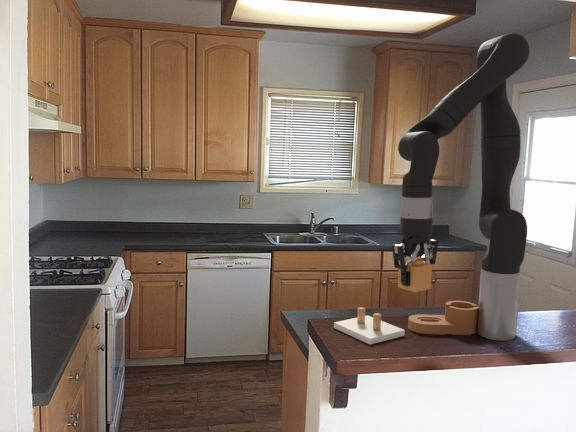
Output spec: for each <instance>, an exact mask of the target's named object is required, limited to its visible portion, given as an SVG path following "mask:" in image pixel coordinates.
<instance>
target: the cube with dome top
mask: <svg viewBox="0 0 576 432" xmlns="http://www.w3.org/2000/svg"><path fill="white" fill-rule="evenodd" d="M407 263H408V261H407V262H406V264H405V266H407ZM399 264H400V262H399ZM432 269H433V264H427V263H424V260H423V259H418V258H416V259H415V262H414V263H412V266H411V269H410V286H408V287H407V286H403V285H402V283H401V270H400V269H397V270H398V272H397V275H398V276H397V277H398V278H397V288H399V289H402V290H406V291H409V292H413V293H418V292H422V291H423V292H424V291H427V290H432V277H433V276H432V275H433V274H432V273H433V271H432Z"/></svg>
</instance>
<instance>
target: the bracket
mask: <svg viewBox="0 0 576 432" xmlns="http://www.w3.org/2000/svg"><path fill="white" fill-rule="evenodd" d="M444 308H445V310H444V314H412V315H409V316H408V319H407V320H408V322H407V323H408V324H407V328H408V330H410V331H412V332H413V333H417V334H422V335H445V334H452V335H451V336H454V335H456V336H457V335H458V336H470V335H471V334H473V335H475V334H478V333H477V321H478V305H477V304H476V303H473V302H470V301H464V300H450V301H447V302H445V307H444Z"/></svg>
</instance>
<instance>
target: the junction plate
mask: <svg viewBox="0 0 576 432" xmlns="http://www.w3.org/2000/svg"><path fill="white" fill-rule="evenodd" d="M333 329H335V330H337V331H340V332H341V333H344V334H346V335H348V336H351V337H353V338H355V339H357V340H359V341H361V342H362V343H363V342H364V343H366V344H368V345H374V344H377V343H382V342H385V341H389V340H394V339H397V338H400V337H405V334H406V333H405V329H404V328H401V327H398V326H396V325H392V324H390V323H388V322H385V321H384V320H382V314H381V313H379V312H378V313H376V312H375V313H373V315H372V316H371V315H366V307H361V306H359V307H357V317H353V318H348V319H344V320H339V321H335V322H333Z"/></svg>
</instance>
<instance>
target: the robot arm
mask: <svg viewBox="0 0 576 432" xmlns="http://www.w3.org/2000/svg"><path fill="white" fill-rule="evenodd" d="M529 56H530V45H529V42H528V40H527V39H526V38H525V36H523V35H521V34H520V33H511V32H510V33H506V34H502V35H499V36H496V37H492V38H491V39H489V40H485V41H484V42H483V43H482V44H481V45H480V46H479V48H478V50H477V53H476V72H474V73H473V74H472V75H471V76H469V77H468V78H466V79H465V80H464V81H463V82H461V83H460V84H458V85H457V86H456V87H455V88H453V89H452V90H451V91H449V93H448V94H446V95H445V96H444V97H443V98H442V99H441V100H440V101H439V102H438V104H436V105H435V106H434V108H433V109H432V110H430V112H429V114H427V115H426V116H425V117H424V118H423V119H420V120H419V121H418V122H417V123H416V124H414V125H413V126H412V127H410V128H409V129H408V130H407V131H406V132H405V133H404V134H403V135H402V137H401V138H400V140H399V142H398V147H397V150H398V154H399V156H400V157H401V158H402V159H403V160H405V161H408V162H410V165H409V171H408V172H406V173H404V175H403V177H402V184H401V185H402V186H401V190H402V191H401V201H400V223H399V224H400V228H399V233H400V234H401V236H402V240H401V243H399V244H396V243H395V244H392V245H391V249H392V256H393V257H392V258H393V266H394V268H395V269H397V270H398V269H400V270H401V283H402V285H403V286H407V287H408V286H410V269H411V266H412V263H414V262H415V259H416V258H418V259H423V260H424V263H427V264H432V265H435V264H436V261H437V255H438V247H439V240H437V239H432V238H431V239H430V237H431V236H432V234H433V214H434V212H433V211H434V204H433V179H434V175H435V174H436V173H435V172H436V168H437V164H438V162H439V161H438V160H439V157H440V145H439V141H438V140H439V139H442V138H444V137H447V136H449V135H450V134H452V133H453V132H454V131H455V130H456V129H457V127H458V126H459V125H460V124H461V123H462V122H463V121H464V120H465V118H466V117H467V116H468V115H470V114H471V112H472V111H473V110H474V109H475V108H476V107H477V106H478V105H479V104H480V105H479V106H480V156H481V157H480V158H481V195H480V197H481V198H480V207H479V217H478V226H479V230H480V233H481V234H482V236H483V238H485V239H487V240H488V241H489V245H488V251H487V252H488V253H487V255H485V256H483V257H482V259H481V262H480V263H481V264H480V277H479V278H480V279H479V293H478V294H479V295H478V305H477V307H478V321H477V333H476V334H477V335H479V336H480V337H481V338H482V337H483V338H484V339H485V338H486V339H489V340H492V341H502V342H503V341H505V342H507V341H512V340H514V339H515V338H516V337H515V336H516V335H517V331H518V329H517V328H518V317H519V303H520V300H519V299H518V298H519V297H518V296H519V287H520V286H519V285H520V284H519V282H520V271H521V266H522V264H523V262H524V259H525V256H526V255H525V254H526V247H527V238H528V224H527V220H526V218H525V216H524V215H523V214H522V212H520V211H518V210H515V209H512V208H511V194H510V193H511V185H512V180H513V178H514V175H515V173H516V169H517V167H518V165H519V161H520V157H521V148H522V147H521V145H522V143H521V139H522V138H521V126H520V123H519V120H518V118H517V116H516V114H515V112H514V110H513V108H512V106H511V104H510V102H509V99H508V94H507V79H510V77H511V76H513V75H514V74H516V73H517V72H518V71H519V70H520V69H522V68H523V67H524V66H525V64H526V63H527V61H528V59H529V58H530V57H529ZM407 261H408V263H407V266H405V264H406V262H407ZM399 263H400V264H399Z"/></svg>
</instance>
